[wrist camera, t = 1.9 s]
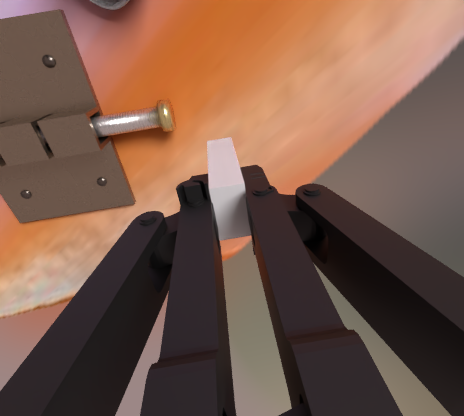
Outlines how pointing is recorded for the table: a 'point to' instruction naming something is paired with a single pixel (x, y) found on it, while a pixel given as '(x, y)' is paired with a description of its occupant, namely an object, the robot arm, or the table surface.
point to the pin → (133, 121)
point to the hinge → (52, 125)
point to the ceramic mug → (110, 3)
